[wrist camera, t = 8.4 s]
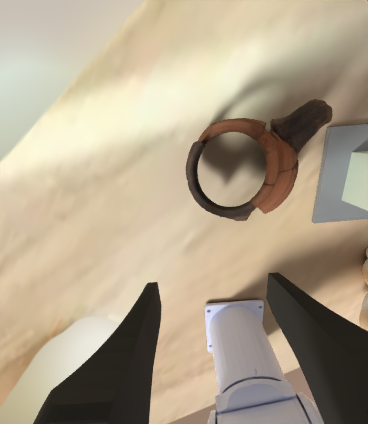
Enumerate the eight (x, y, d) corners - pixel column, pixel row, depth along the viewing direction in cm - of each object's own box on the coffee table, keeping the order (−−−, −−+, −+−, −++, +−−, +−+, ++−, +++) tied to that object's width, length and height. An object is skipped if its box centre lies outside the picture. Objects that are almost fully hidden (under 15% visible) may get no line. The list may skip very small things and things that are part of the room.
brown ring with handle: (246, 224, 23) (225, 250, 16) (196, 167, 25) (156, 168, 18) (352, 144, 17) (393, 130, 10) (275, 75, 19) (264, 22, 12)
